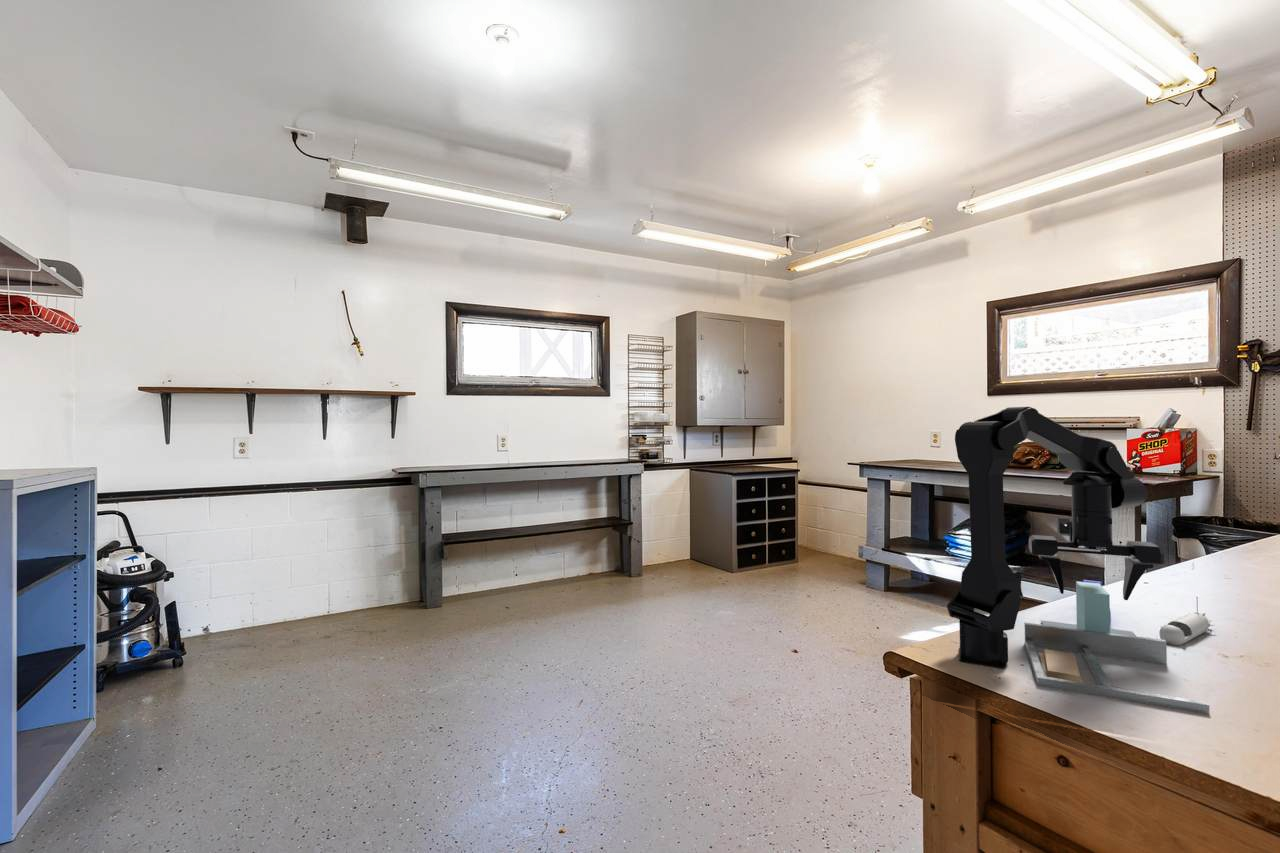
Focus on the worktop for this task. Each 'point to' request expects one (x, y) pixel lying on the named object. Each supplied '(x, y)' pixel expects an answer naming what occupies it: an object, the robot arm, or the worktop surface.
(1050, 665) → the upper offcut
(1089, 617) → the pale teal block
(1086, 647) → the rack
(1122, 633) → the rubber mat
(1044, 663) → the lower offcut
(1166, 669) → the worktop surface
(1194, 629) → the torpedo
